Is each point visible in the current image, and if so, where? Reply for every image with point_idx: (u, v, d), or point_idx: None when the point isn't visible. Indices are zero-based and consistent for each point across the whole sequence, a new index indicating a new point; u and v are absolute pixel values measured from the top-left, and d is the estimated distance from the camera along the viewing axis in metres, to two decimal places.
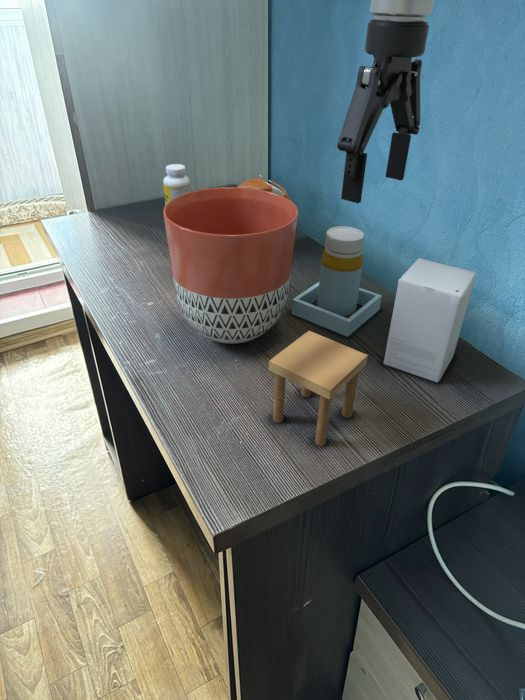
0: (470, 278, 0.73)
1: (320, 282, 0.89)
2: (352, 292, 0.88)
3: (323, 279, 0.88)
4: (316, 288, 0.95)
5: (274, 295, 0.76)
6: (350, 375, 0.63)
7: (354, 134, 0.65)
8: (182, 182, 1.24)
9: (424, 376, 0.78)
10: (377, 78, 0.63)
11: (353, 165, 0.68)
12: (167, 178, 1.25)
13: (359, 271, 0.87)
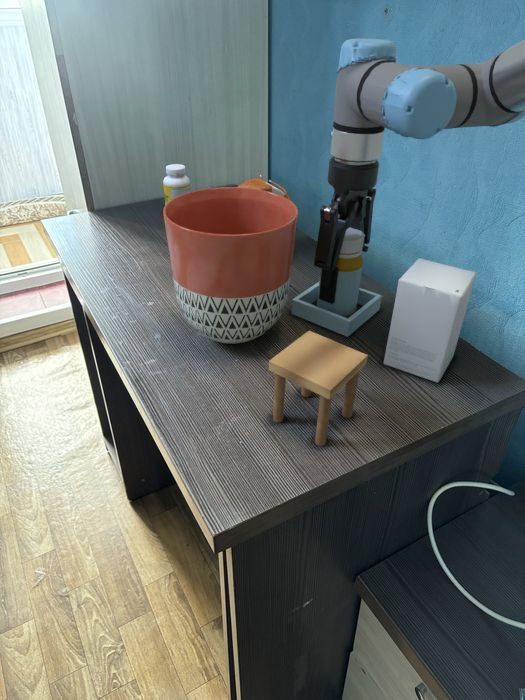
0: (470, 278, 0.73)
1: None
2: (352, 292, 0.88)
3: None
4: (316, 288, 0.95)
5: (274, 295, 0.76)
6: (350, 375, 0.63)
7: (325, 258, 0.81)
8: (182, 182, 1.24)
9: (424, 376, 0.78)
10: (336, 215, 0.78)
11: (327, 277, 0.84)
12: (167, 178, 1.25)
13: (359, 271, 0.87)
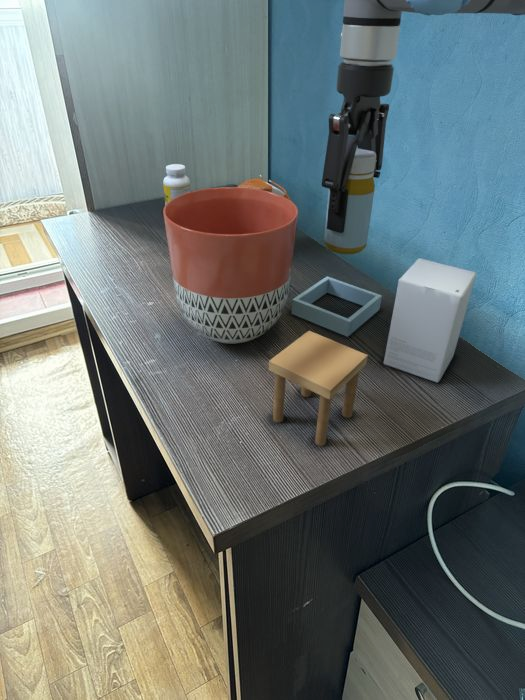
0: (470, 278, 0.73)
1: None
2: (363, 220, 0.80)
3: None
4: (316, 288, 0.95)
5: (274, 295, 0.76)
6: (350, 375, 0.63)
7: (334, 176, 0.73)
8: (182, 182, 1.24)
9: (424, 376, 0.78)
10: (346, 124, 0.70)
11: (336, 200, 0.77)
12: (167, 178, 1.25)
13: (371, 196, 0.79)
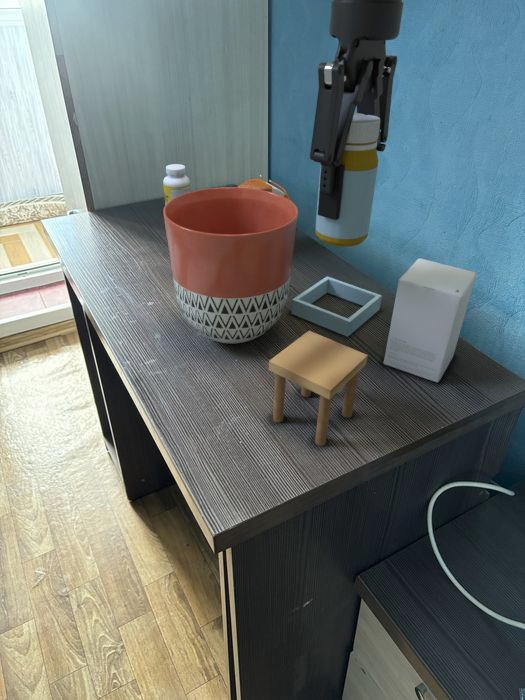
0: (470, 278, 0.73)
1: None
2: (363, 203, 0.64)
3: None
4: (316, 288, 0.95)
5: (274, 295, 0.76)
6: (350, 375, 0.63)
7: (326, 145, 0.57)
8: (182, 182, 1.24)
9: (424, 376, 0.78)
10: (341, 76, 0.54)
11: (329, 178, 0.61)
12: (167, 178, 1.25)
13: (373, 173, 0.63)
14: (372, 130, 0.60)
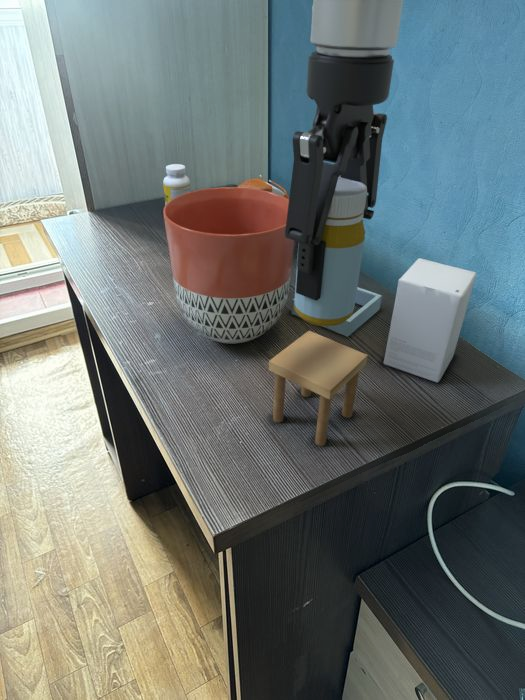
0: (470, 278, 0.73)
1: None
2: (348, 281, 0.56)
3: None
4: None
5: (274, 295, 0.76)
6: (350, 375, 0.63)
7: (303, 224, 0.49)
8: (182, 182, 1.24)
9: (424, 376, 0.78)
10: (320, 148, 0.45)
11: (307, 257, 0.52)
12: (167, 178, 1.25)
13: (359, 248, 0.54)
14: (357, 203, 0.51)
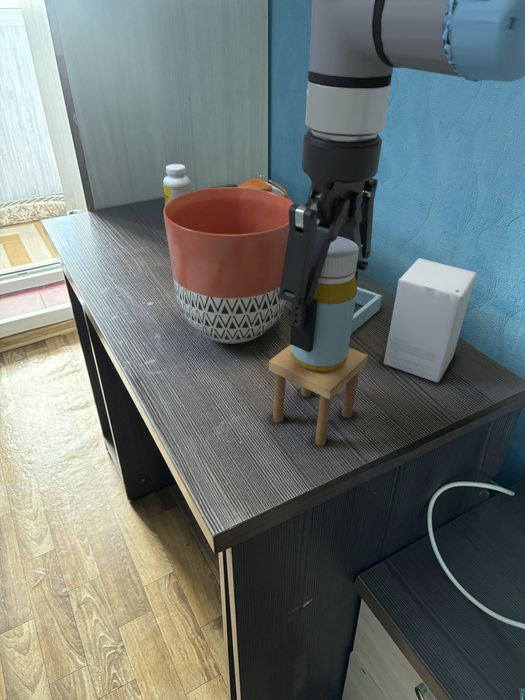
0: (470, 278, 0.73)
1: None
2: (341, 332, 0.59)
3: None
4: None
5: (274, 295, 0.76)
6: (350, 375, 0.63)
7: (296, 287, 0.52)
8: (182, 182, 1.24)
9: (424, 376, 0.78)
10: (313, 220, 0.49)
11: (300, 315, 0.55)
12: (167, 178, 1.25)
13: (351, 302, 0.58)
14: (349, 263, 0.55)
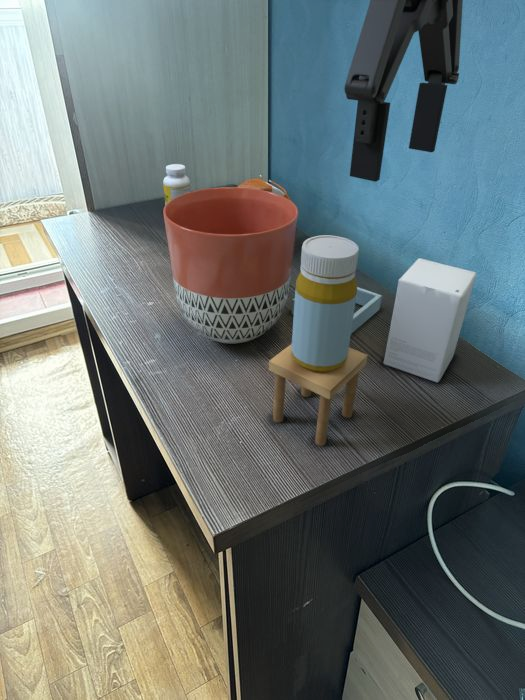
0: (470, 278, 0.73)
1: (295, 317, 0.61)
2: (341, 332, 0.59)
3: (298, 314, 0.59)
4: None
5: (274, 295, 0.76)
6: (350, 375, 0.63)
7: (372, 68, 0.41)
8: (182, 182, 1.24)
9: (424, 376, 0.78)
10: None
11: (369, 121, 0.44)
12: (167, 178, 1.25)
13: (351, 302, 0.58)
14: (349, 263, 0.55)
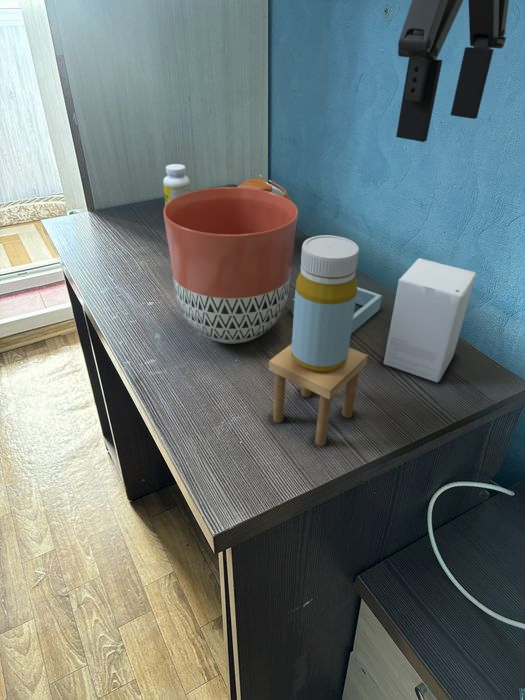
0: (470, 278, 0.73)
1: (295, 317, 0.61)
2: (341, 332, 0.59)
3: (298, 314, 0.59)
4: None
5: (274, 295, 0.76)
6: (350, 375, 0.63)
7: (428, 22, 0.41)
8: (182, 182, 1.24)
9: (424, 376, 0.78)
10: None
11: (421, 78, 0.44)
12: (167, 178, 1.25)
13: (351, 302, 0.58)
14: (350, 263, 0.55)
